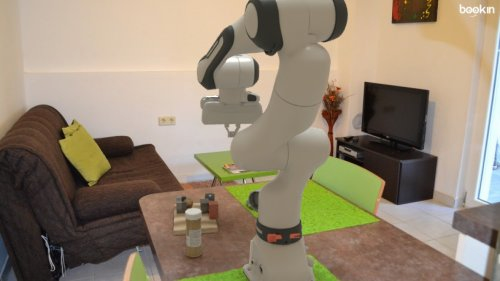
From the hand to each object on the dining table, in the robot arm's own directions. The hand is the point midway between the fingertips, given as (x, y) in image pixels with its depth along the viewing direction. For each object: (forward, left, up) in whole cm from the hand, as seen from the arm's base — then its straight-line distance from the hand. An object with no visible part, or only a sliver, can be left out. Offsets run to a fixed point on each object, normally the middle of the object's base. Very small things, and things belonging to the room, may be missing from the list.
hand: (232, 137), depth 133 cm
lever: (+5, +8, -27) cm, 29 cm away
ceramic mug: (+9, -11, -29) cm, 33 cm away
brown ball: (+6, +15, -27) cm, 32 cm away
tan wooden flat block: (+1, +13, -29) cm, 32 cm away
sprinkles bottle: (-23, +14, -29) cm, 40 cm away
